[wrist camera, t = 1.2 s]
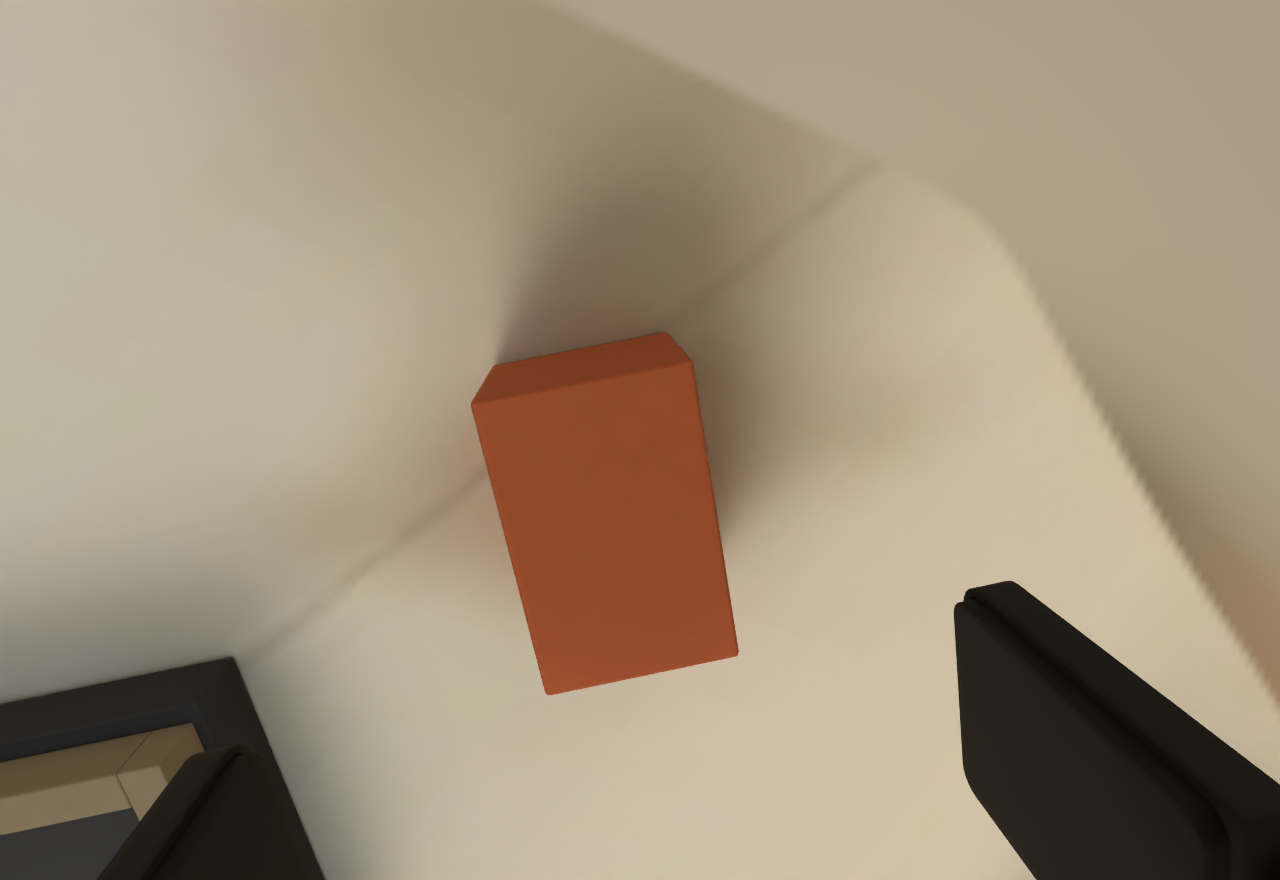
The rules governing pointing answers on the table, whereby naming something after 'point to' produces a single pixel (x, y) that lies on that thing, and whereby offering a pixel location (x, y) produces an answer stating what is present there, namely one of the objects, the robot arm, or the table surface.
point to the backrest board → (113, 764)
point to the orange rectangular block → (608, 510)
